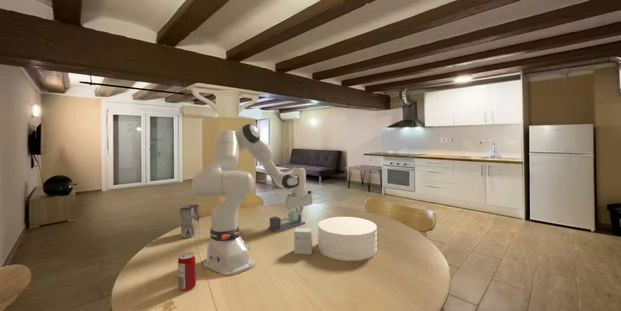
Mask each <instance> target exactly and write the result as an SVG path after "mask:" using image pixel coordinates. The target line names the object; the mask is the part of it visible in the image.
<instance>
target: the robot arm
mask: <svg viewBox="0 0 621 311" xmlns="http://www.w3.org/2000/svg"><path fill="white" fill-rule="evenodd" d="M214 147H215V148H214V152H213V157H212V160H211V162H210V163H209V164H208V165H207V167H206V168H204V169H203V170H202V171H200V172H198V173H196V174H195V175H194V176H193V178H192V180H191V189H192V191H193V193H194V194H195V195H196V196H199V197H206V198H213V197H214V198H215V197H220V198H221V197H224V198H225V200H224V201H223V202H222V203H219V204H217V205H216V206H214V207H213V208H212V210H211V211H210V212H211V213H210V221H211V222H210V223H211V224H210V225H211V226H210V227H211V228H210V231H209V234H210V236H209V237H210V240H209V242H208V244H207V246H206V247H207V248H206V249H207V250H206V261H204V262H203V267H205V268H207V269H210V270H212V271H214V272H216V273H219V274H221V275H223V276H231V275H236V274H239V273H242V272H245V271H247V270H249V269H251V268H253V267H254V266H255V265H256V262H255V260H254V259H253V258H252V257H251V256H250V252H249V251H250V246H249V245H246V243H245V240H243V238H242V236H241V230H240V227H239V224H238V222H239V210H240V207H241V204H242V202H243V200H244V199H245V198H246V197H247V196H248V195H250V193H252V191H253V190H254V187H255V179H254V176H253V175H252V174H251V173H250V172H249V171H243V170H234V169H235V168H236V167H237V166H238V164H239V160H240V159H239V158H240V156H239V155H240V152H243V151H245V150H248V152H249V154H251V156H252V157H253V158H254V159H255V160H256V161H257V162H258V163H259V164H260V165H261V166H262V167H263V168H264V170H265V171H266V173H268V175H269V177H270V178H271V182H272V184H273V185H274V186H275V187H277V188H283V189H285V190H289V189H291V193H288V194H287V195H286V196H285V203H284V204H285V205H284V207H285V209H286V210H289V211H290V210H294V209H295V210H294V211H296V212H298V214H299V215H302V213H303V210H304V207H307V206H311V205H312V204H313V200H314V199H313V195H312V194H313V191H312V190H310V189H307V185H306V182H307V177H306V176H307V171H306V170H305V168H304V167H300V166H299V167H298V166H294V167H292V168H291V169H290V170H289V171H286V172H284V171H281V170H279V169H278V167H277V166H276V165H275V163H274V162H273V161H272V159H273V156H274V151H273V149H272V147H271V146H270V144H269V143H268V142H267V141H266V140H265V139H264V138H263V137H262V136H261V132H260V130H259V128H258V127H257V126H256V125H254V124H252V123H247V124H245V125H242V126H241V127H239V128H238V129H236V130H231V129H224V130H222V131H221V132H220V133H219V134H218V136H217V139H216V143H215V146H214Z"/></svg>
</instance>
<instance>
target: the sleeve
mask: <svg viewBox="0 0 621 311" xmlns="http://www.w3.org/2000/svg"><path fill="white" fill-rule="evenodd" d="M288 217H292V219H290V220H288V221H291V222H296V221H298V212H297V211H296V210H291V211H290V210H289V212H288Z"/></svg>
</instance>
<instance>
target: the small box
mask: <svg viewBox="0 0 621 311" xmlns="http://www.w3.org/2000/svg"><path fill="white" fill-rule="evenodd" d="M293 233H294V234H293V238H294V239H293V241H294V244H293V246H294V248H293V250H294V255H312V254H313V253H312V252H313V227H312V228H310V227H309V228H308V227H295V229H294V232H293Z"/></svg>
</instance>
